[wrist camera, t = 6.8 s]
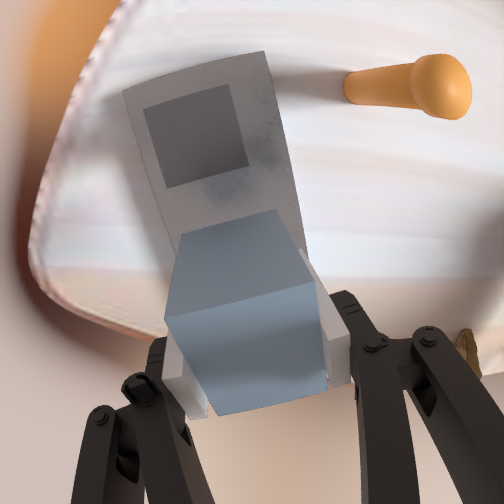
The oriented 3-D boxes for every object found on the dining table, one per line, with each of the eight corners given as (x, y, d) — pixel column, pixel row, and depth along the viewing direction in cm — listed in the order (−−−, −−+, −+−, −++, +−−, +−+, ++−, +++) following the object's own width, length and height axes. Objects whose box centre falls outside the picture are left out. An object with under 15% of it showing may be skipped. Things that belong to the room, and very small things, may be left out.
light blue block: (181, 233, 16) (163, 318, 10) (275, 208, 16) (314, 281, 10) (214, 321, 19) (218, 416, 12) (294, 301, 19) (327, 390, 12)
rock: (466, 328, 40) (431, 378, 42) (502, 355, 35) (466, 404, 37) (463, 322, 48) (434, 364, 50) (494, 344, 44) (464, 386, 46)
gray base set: (130, 92, 24) (39, 81, 9) (260, 55, 24) (311, -2, 9) (206, 315, 35) (207, 437, 21) (309, 288, 35) (360, 400, 21)
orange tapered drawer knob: (359, 60, 24) (449, 43, 12) (384, 93, 26) (480, 98, 14) (330, 83, 25) (412, 74, 13) (357, 117, 27) (446, 132, 15)
